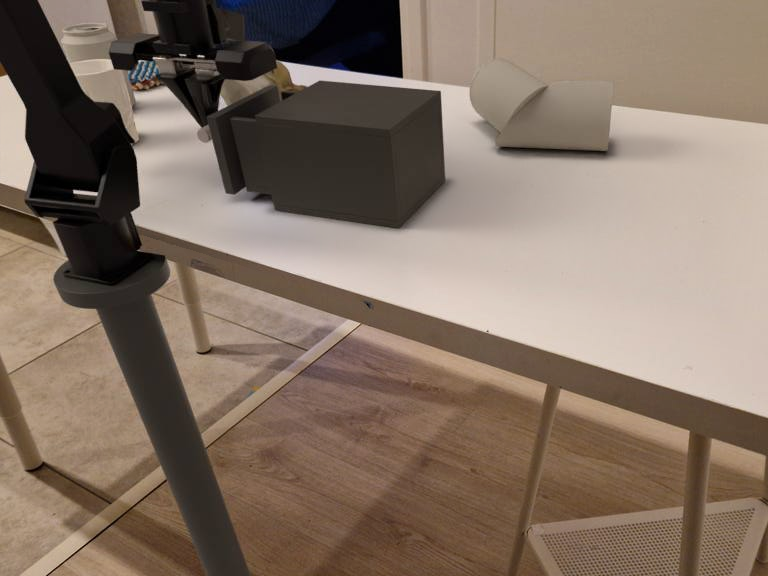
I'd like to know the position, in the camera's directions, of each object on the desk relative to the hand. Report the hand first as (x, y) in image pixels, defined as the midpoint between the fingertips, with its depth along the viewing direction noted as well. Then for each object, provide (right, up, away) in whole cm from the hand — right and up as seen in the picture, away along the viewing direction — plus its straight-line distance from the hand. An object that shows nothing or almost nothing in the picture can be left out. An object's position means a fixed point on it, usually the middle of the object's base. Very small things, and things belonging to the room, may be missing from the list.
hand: (210, 132), depth 86 cm
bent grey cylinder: (+40, +4, +13) cm, 42 cm away
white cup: (-19, +3, +14) cm, 24 cm away
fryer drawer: (+10, -6, 0) cm, 11 cm away
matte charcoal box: (+19, -8, -2) cm, 21 cm away
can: (-25, +13, +26) cm, 38 cm away
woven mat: (-26, +23, +38) cm, 52 cm away
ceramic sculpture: (0, +12, +24) cm, 27 cm away
